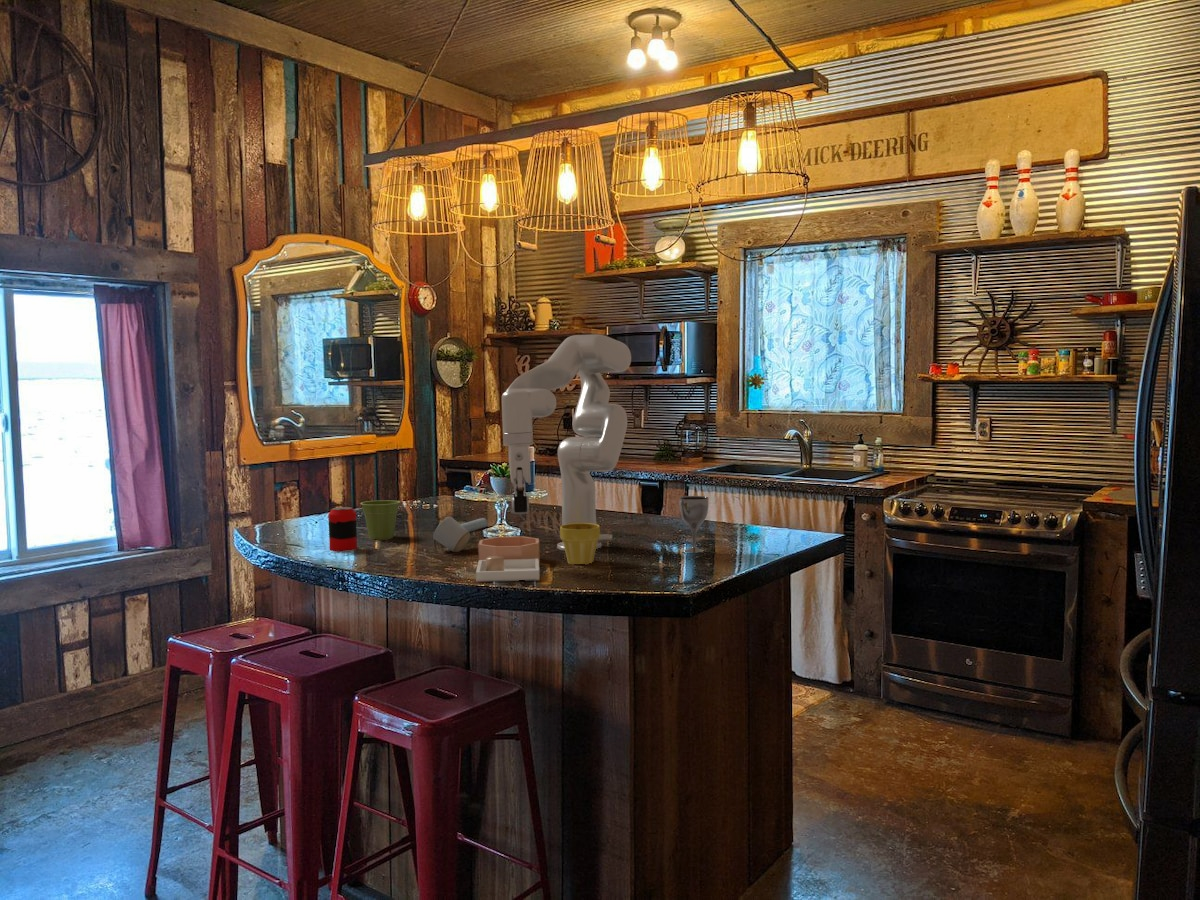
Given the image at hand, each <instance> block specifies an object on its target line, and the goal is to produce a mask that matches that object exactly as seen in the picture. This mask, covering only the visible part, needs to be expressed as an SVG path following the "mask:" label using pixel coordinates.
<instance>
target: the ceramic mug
mask: <svg viewBox="0 0 1200 900" xmlns="http://www.w3.org/2000/svg"><path fill="white" fill-rule="evenodd" d="M460 524H461V523H459V522H458V521H457V520H455V519H454V518H453V517H452V516H446V517H445V518H444V519H442V521H441V522H440V523H439V524H438V525H437V527H436V528H435V530H434V532H433V534H432V538H433V540H435V541H437V542H438V543H439V544H441V545H442V546H444V547H445V548H446V549H448V550H449V551H451V552H453V553H459V552H461V551H462V550H463V549H464V548H465V546H466V545H467V544H468V543H469V541H470V539H471V532H468V531H467V530H466V529H465V528H464V527H463V526H461V525H460Z"/></svg>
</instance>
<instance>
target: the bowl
mask: <svg viewBox="0 0 1200 900" xmlns="http://www.w3.org/2000/svg"><path fill="white" fill-rule="evenodd" d="M477 545H478V546H477V547H478V561H479V560H486V557H489V556H503V557H504V559H538V560H539V564H540V562H541V560H540V558H541V557H540V539H539V538H536V537H531V536H530V537H529V536H524V535H519V536H517V535H515V536H513V535H512V536H496V537H490V538H485V539H480V540H479V541H478V544H477Z"/></svg>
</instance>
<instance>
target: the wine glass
mask: <svg viewBox="0 0 1200 900" xmlns="http://www.w3.org/2000/svg"><path fill="white" fill-rule="evenodd" d="M709 503H710V502H709V497H708V496H703V495H685V496H679V502H678V504H679V511H680V512H679V513H680V515H681V518H682V520H683V521H684V523H685V524H686V525H687V526H688V527H689V528H690V531H691V535H692V536H691V537H692V546H691V548H688V549H684V550H685V552H691V553H697V552H703V551H704V550H705V549H701V548H699V547H697V545H696V540H697V531H698V530H699V528H700V526H701V525H702V524H703V523H704V521H705V520H706V519H707V516H708V511H709Z"/></svg>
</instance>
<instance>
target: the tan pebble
mask: <svg viewBox="0 0 1200 900" xmlns="http://www.w3.org/2000/svg"><path fill="white" fill-rule="evenodd" d="M486 571H504V557H503V556H489V557H486Z"/></svg>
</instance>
